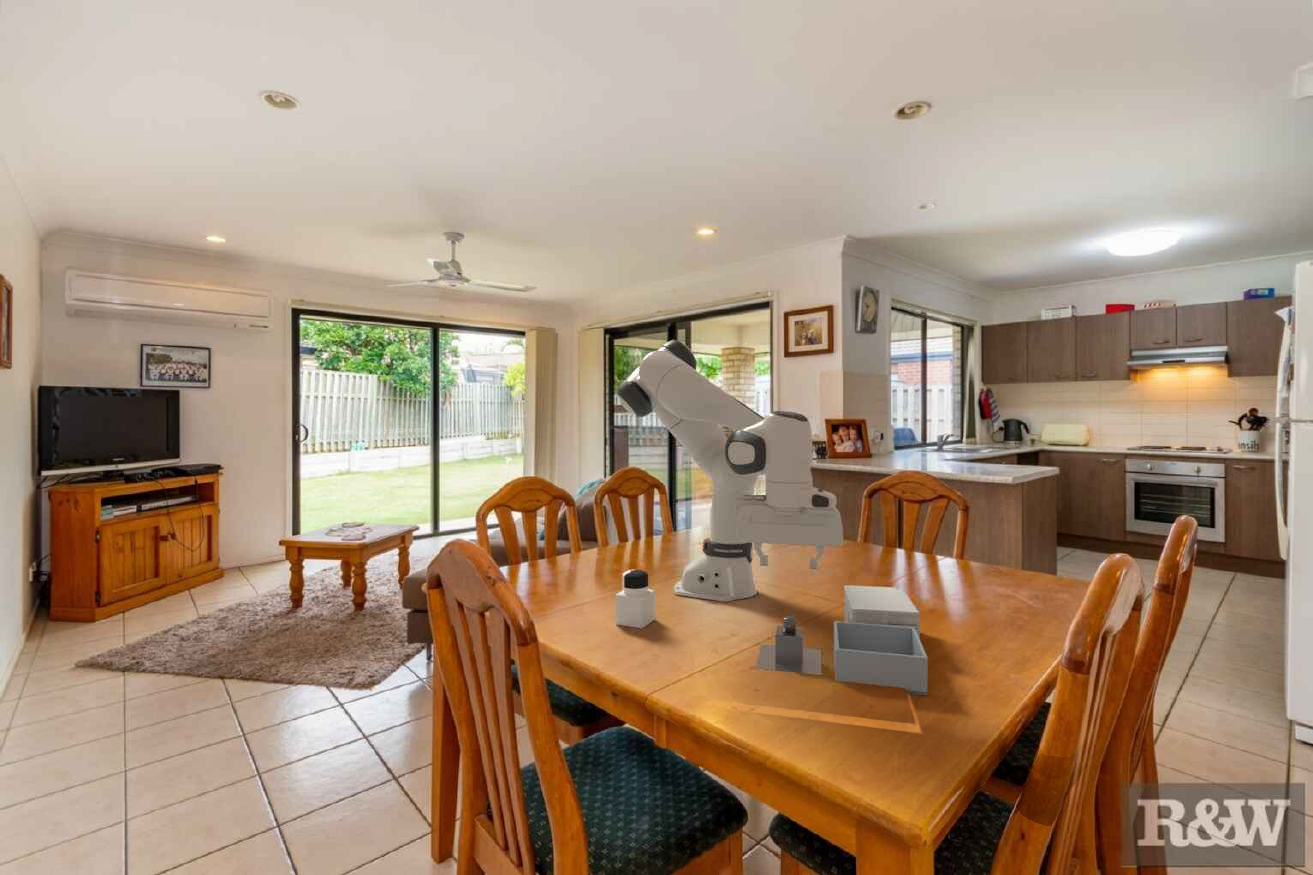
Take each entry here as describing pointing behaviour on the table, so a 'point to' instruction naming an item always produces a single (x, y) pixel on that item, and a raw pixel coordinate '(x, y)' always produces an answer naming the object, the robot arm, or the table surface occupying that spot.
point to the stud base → (808, 666)
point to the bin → (880, 656)
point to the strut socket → (789, 642)
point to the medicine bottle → (635, 600)
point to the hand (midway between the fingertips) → (788, 566)
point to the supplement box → (880, 606)
